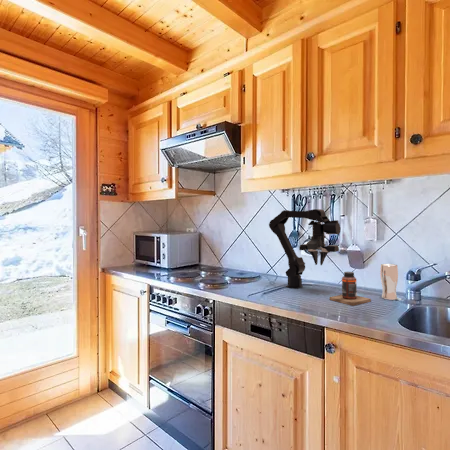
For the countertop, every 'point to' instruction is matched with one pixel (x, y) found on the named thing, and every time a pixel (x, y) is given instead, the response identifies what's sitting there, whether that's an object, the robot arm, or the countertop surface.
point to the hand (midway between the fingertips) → (318, 264)
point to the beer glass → (389, 281)
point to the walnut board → (350, 300)
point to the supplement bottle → (349, 286)
